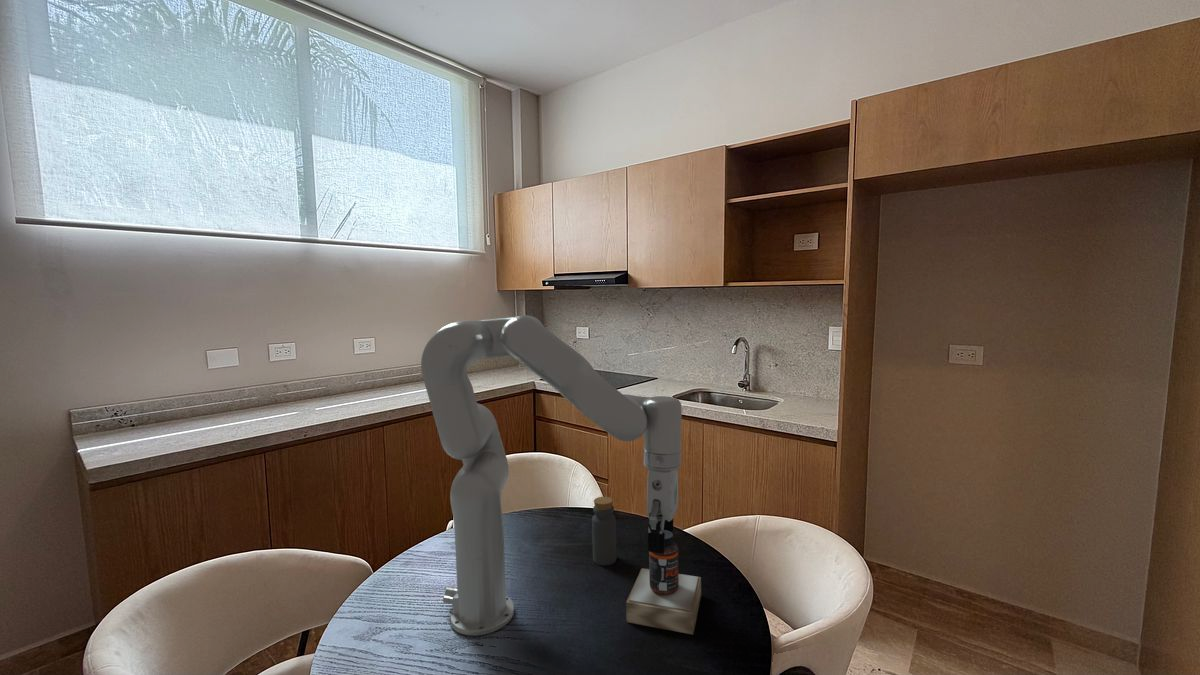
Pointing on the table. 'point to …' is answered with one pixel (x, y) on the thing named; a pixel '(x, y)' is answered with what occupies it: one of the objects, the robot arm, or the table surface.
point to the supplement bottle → (664, 567)
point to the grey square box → (665, 604)
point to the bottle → (604, 531)
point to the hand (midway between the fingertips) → (661, 540)
